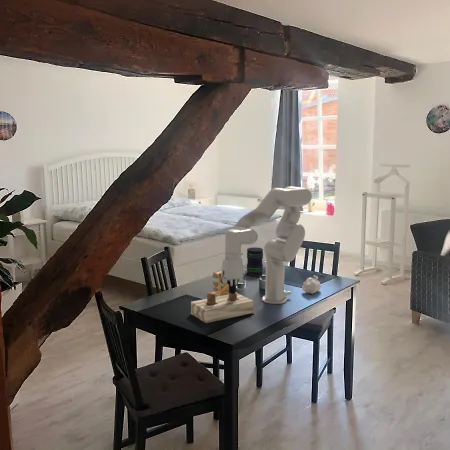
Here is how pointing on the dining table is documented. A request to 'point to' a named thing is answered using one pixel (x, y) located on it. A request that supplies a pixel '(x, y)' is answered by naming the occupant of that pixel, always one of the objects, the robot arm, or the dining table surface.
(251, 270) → the storage jar
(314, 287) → the cream lumpy bulb
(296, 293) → the dining table surface
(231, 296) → the peg
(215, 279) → the candy box
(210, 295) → the peg
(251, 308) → the birch block
